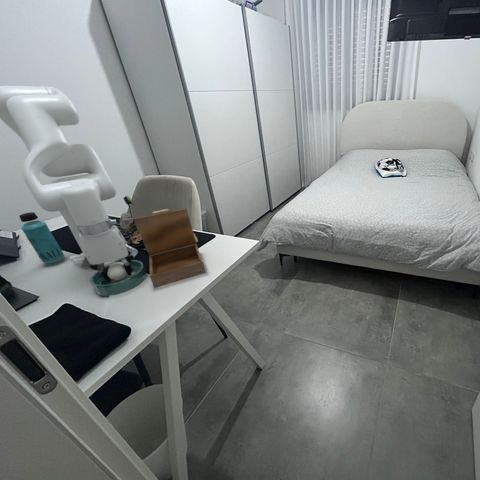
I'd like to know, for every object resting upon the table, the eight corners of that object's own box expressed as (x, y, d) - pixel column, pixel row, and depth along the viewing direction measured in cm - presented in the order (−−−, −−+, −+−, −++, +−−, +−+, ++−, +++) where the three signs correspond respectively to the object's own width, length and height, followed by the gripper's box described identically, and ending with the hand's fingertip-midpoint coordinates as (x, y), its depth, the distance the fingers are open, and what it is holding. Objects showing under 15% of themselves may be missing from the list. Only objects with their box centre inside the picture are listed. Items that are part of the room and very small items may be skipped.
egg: (128, 279, 83) (122, 267, 81) (110, 284, 81) (103, 272, 79) (129, 269, 88) (123, 257, 86) (112, 273, 86) (106, 261, 84)
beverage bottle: (53, 258, 101) (24, 210, 91) (71, 257, 101) (44, 209, 91) (39, 267, 95) (6, 218, 85) (58, 266, 95) (27, 217, 86)
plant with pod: (139, 233, 118) (123, 191, 109) (152, 239, 113) (135, 195, 103) (120, 240, 112) (100, 196, 103) (132, 247, 107) (112, 202, 97)
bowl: (93, 303, 78) (86, 291, 76) (99, 278, 89) (94, 268, 86) (147, 287, 84) (142, 276, 82) (147, 266, 95) (143, 255, 93)
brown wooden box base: (206, 274, 90) (202, 261, 87) (155, 289, 83) (149, 276, 80) (199, 255, 101) (196, 243, 98) (154, 267, 94) (149, 255, 91)
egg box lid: (186, 209, 88) (184, 201, 91) (132, 219, 81) (132, 211, 84) (196, 243, 98) (193, 235, 101) (149, 254, 91) (147, 246, 94)
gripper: (130, 216, 83) (149, 263, 91) (61, 229, 75) (89, 279, 84) (129, 224, 77) (149, 274, 86) (54, 239, 70) (85, 292, 78)
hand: (120, 276), depth 85 cm, fingers closed on egg, 4 cm apart
